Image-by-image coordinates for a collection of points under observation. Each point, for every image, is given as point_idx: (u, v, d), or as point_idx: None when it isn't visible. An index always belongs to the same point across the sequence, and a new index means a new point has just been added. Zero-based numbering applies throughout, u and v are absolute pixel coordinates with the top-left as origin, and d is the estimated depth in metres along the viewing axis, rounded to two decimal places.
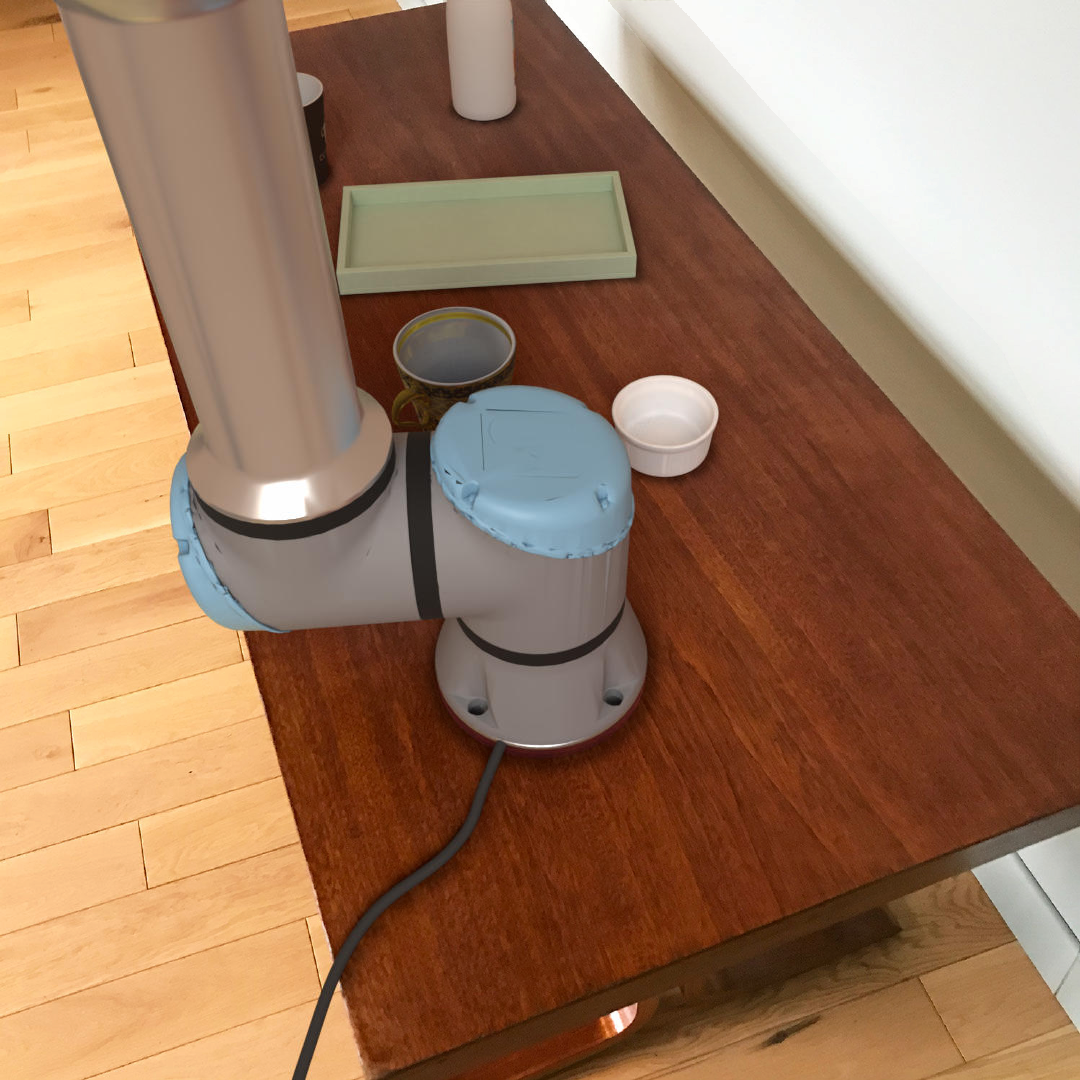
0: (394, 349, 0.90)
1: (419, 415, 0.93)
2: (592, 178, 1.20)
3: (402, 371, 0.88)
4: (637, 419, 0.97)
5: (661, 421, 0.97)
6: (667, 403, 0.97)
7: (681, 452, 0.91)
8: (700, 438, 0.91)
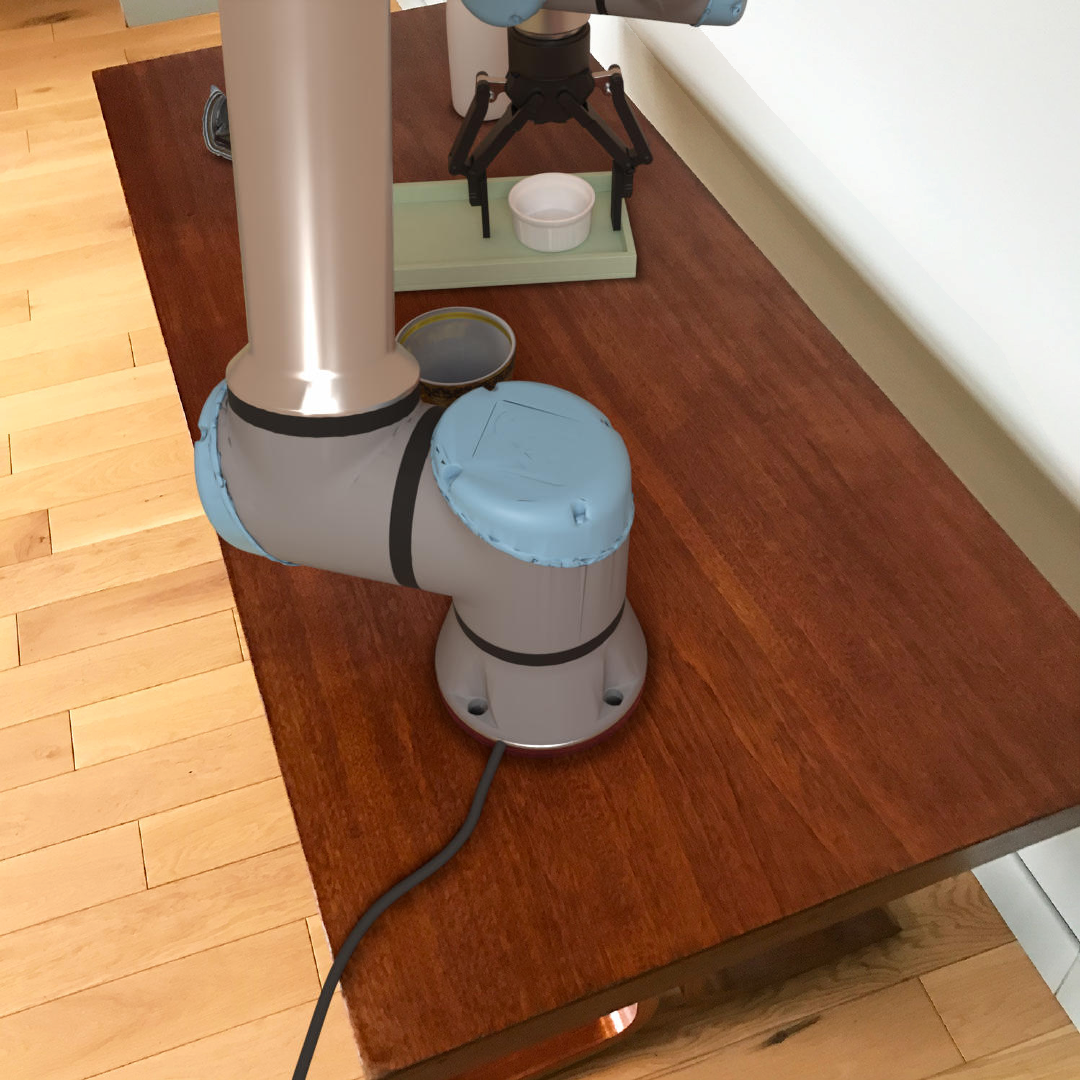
0: None
1: None
2: (592, 178, 1.20)
3: None
4: (533, 211, 1.17)
5: (552, 213, 1.17)
6: (557, 198, 1.17)
7: (563, 227, 1.11)
8: (578, 215, 1.11)
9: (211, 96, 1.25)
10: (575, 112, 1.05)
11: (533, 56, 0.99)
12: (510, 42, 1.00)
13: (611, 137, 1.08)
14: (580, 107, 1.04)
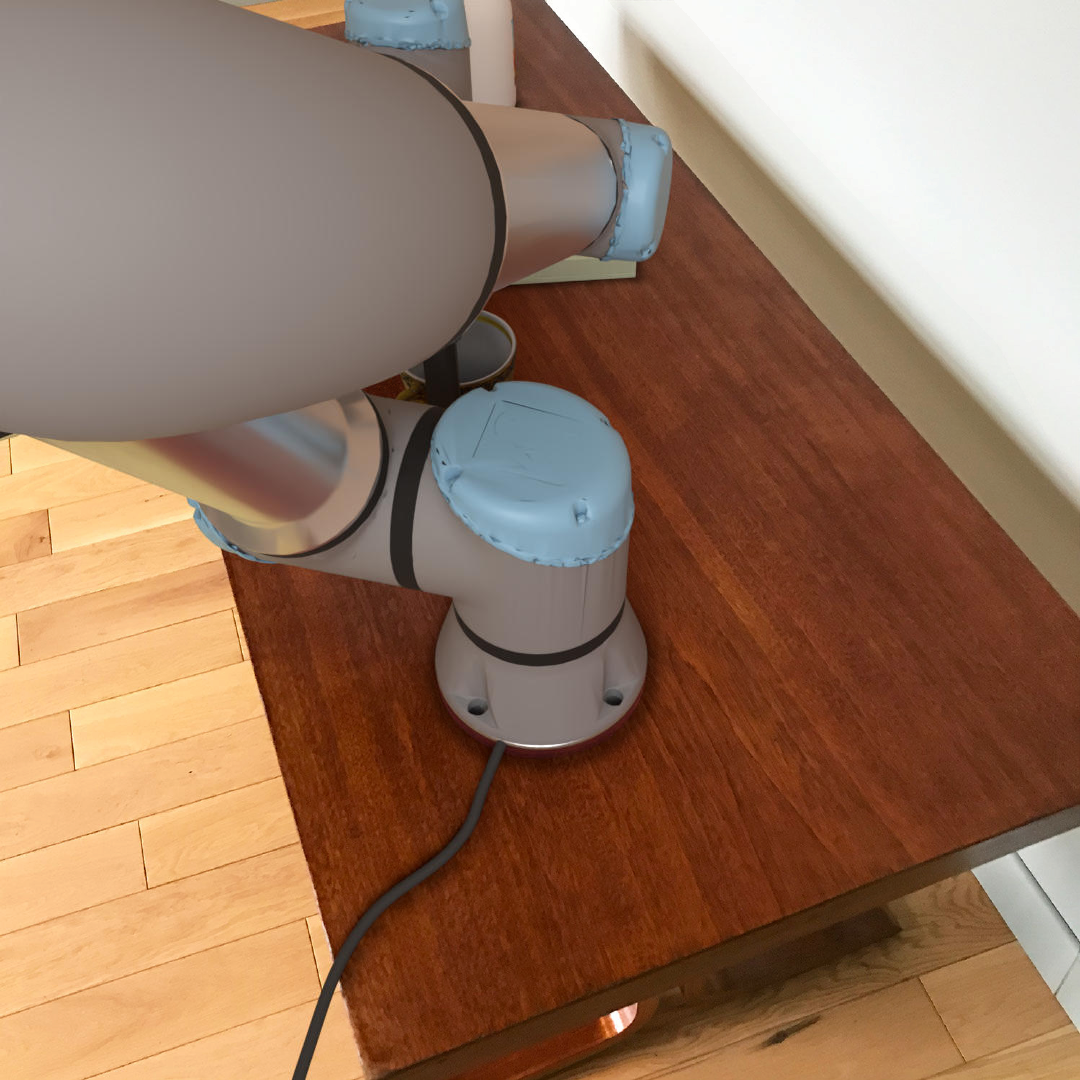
0: None
1: None
2: None
3: None
4: None
5: None
6: None
7: None
8: None
9: None
10: None
11: None
12: None
13: None
14: None
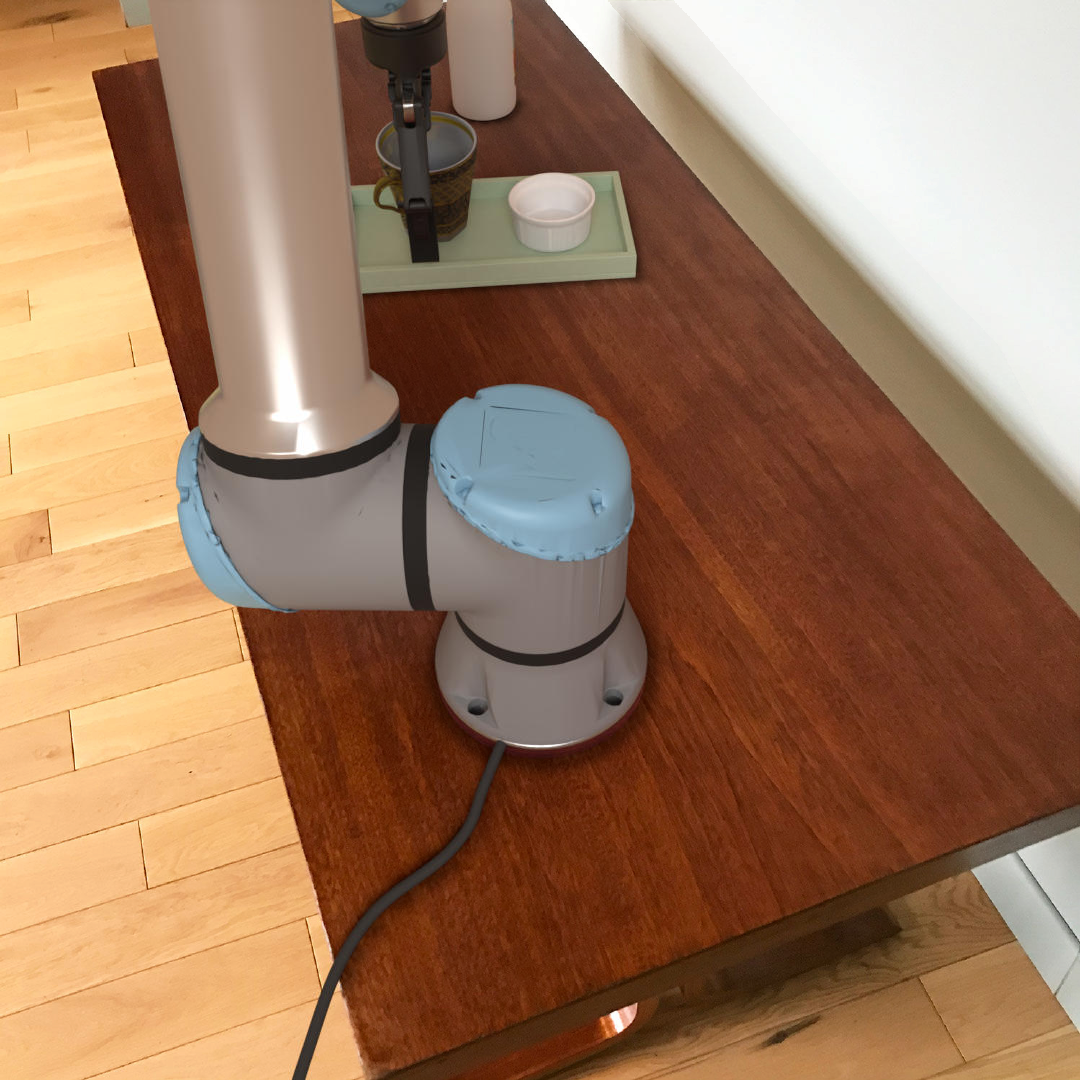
0: (376, 144, 1.09)
1: None
2: (592, 178, 1.20)
3: (382, 161, 1.08)
4: (533, 212, 1.17)
5: (552, 213, 1.17)
6: (557, 198, 1.17)
7: (563, 226, 1.11)
8: (578, 215, 1.11)
9: None
10: None
11: None
12: None
13: None
14: (392, 107, 1.02)
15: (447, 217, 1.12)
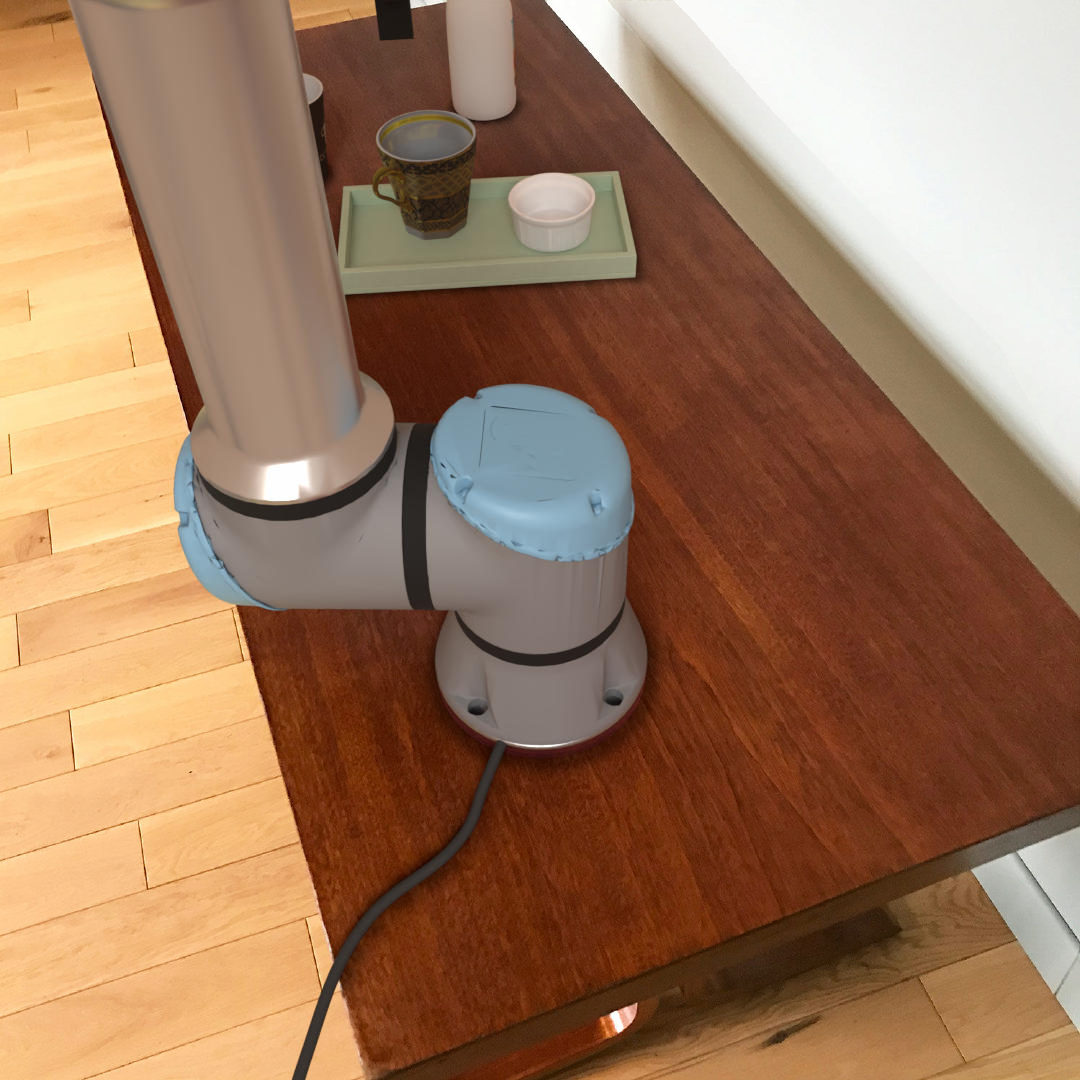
0: (377, 137, 1.10)
1: (397, 197, 1.13)
2: (592, 178, 1.20)
3: (382, 152, 1.09)
4: (533, 212, 1.17)
5: (552, 213, 1.17)
6: (557, 198, 1.17)
7: (563, 226, 1.11)
8: (578, 215, 1.11)
9: None
10: None
11: None
12: None
13: None
14: None
15: (446, 211, 1.13)
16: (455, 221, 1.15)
